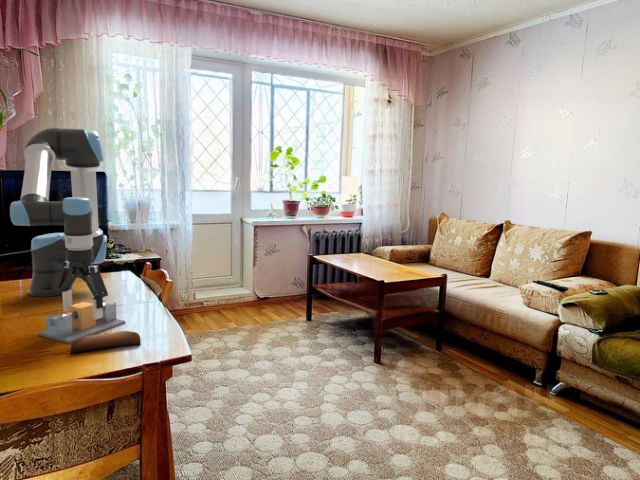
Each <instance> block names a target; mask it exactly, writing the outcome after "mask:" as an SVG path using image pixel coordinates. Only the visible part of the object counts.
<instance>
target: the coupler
mask: <svg viewBox="0 0 640 480" xmlns="http://www.w3.org/2000/svg"><path fill="white" fill-rule="evenodd" d="M70 312H71V313H72V314H73V315H74V319H73V320H72V328H75V329H79V330H84V329H87V328H90V327H93V326H96V320H95V319H93V302H92V303H91V302H86V301H81V302H79V303H75V304H73V305H71V306H70V311H69V313H70Z"/></svg>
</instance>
